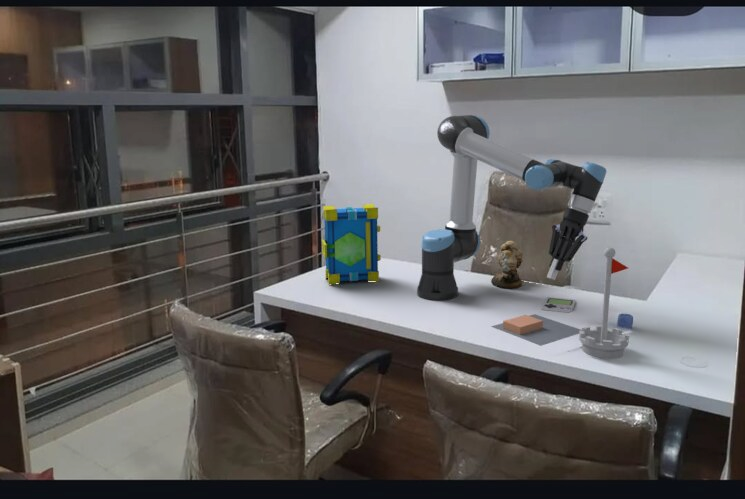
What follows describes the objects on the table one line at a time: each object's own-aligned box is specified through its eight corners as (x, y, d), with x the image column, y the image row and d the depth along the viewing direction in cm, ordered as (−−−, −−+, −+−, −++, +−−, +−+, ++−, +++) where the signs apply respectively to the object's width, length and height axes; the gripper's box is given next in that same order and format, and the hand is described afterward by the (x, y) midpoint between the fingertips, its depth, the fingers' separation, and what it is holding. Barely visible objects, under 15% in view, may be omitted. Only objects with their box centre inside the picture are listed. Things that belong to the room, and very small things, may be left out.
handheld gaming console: (540, 308, 211) (546, 296, 225) (540, 312, 211) (546, 300, 225) (571, 311, 207) (575, 299, 221) (570, 316, 208) (575, 303, 221)
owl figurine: (489, 276, 255) (490, 235, 252) (518, 277, 254) (520, 236, 251) (493, 289, 238) (495, 245, 234) (525, 289, 237) (527, 245, 233)
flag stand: (572, 354, 175) (578, 249, 168) (585, 339, 185) (592, 240, 179) (621, 363, 168) (630, 255, 161) (632, 348, 178) (640, 245, 172)
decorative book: (322, 277, 257) (320, 205, 251) (377, 274, 261) (376, 203, 255) (326, 287, 244) (323, 211, 237) (384, 283, 248) (383, 208, 241)
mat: (490, 328, 196) (490, 326, 196) (534, 315, 207) (534, 314, 207) (540, 347, 180) (540, 345, 180) (585, 333, 191) (585, 331, 191)
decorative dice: (630, 330, 192) (631, 318, 192) (616, 328, 194) (617, 316, 194) (632, 326, 196) (633, 314, 195) (619, 324, 198) (619, 312, 197)
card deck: (525, 322, 199) (502, 328, 194) (525, 314, 199) (503, 321, 193) (542, 328, 194) (519, 334, 188) (542, 320, 193) (520, 327, 188)
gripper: (601, 218, 198) (573, 287, 201) (569, 208, 209) (542, 273, 211) (588, 212, 194) (559, 283, 197) (555, 202, 204) (528, 269, 207)
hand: (550, 278), depth 204 cm, fingers closed
